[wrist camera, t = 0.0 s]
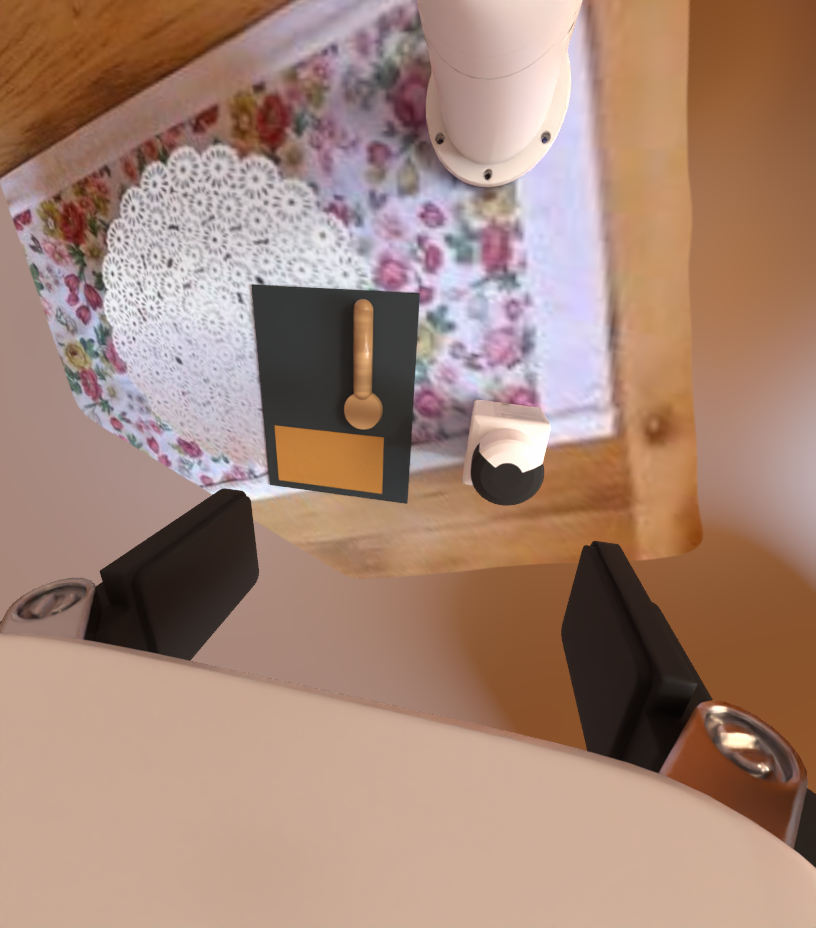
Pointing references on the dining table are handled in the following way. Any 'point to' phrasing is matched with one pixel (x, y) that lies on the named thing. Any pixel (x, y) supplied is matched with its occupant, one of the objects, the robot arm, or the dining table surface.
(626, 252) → the dining table surface
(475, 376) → the dining table surface
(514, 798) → the robot arm
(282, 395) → the mat
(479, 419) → the container
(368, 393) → the wooden rod with disc
